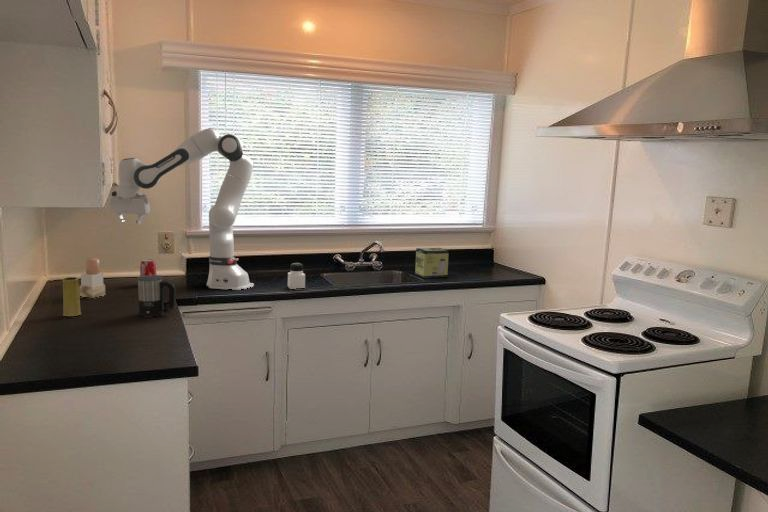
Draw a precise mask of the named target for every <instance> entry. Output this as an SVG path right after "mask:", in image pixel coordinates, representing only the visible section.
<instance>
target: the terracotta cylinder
mask: <svg viewBox="0 0 768 512" xmlns="http://www.w3.org/2000/svg"><path fill="white" fill-rule="evenodd" d="M85 265H86V266H85V273H87V274H92V275H94V274H99V273H100V258H98V257H87V258H86V263H85Z"/></svg>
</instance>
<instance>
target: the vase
mask: <svg viewBox="0 0 768 512" xmlns="http://www.w3.org/2000/svg"><path fill="white" fill-rule="evenodd" d="M79 280H80V279H79V277H76V276H75V277H74V276H70V277H63V278H62V297H63V298H62V299H63V300H62V301H63V303H62V306H63V309H62V310H63V311H62V312H63V313H62V317H63V316H78V315H82V312H81V300H80V299H81V297H80V291H79V286H80V283H79V282H80V281H79Z"/></svg>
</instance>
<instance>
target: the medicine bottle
mask: <svg viewBox="0 0 768 512" xmlns="http://www.w3.org/2000/svg"><path fill="white" fill-rule="evenodd" d="M289 266H290V268H289V269H290V270H289V271H290V272H287V287H288V289H290V290H291V289H295V290H297V289H296V288H305V289H306V273H304V264H303V263H300V262H294V263H291V264H290V265H289Z"/></svg>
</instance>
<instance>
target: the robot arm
mask: <svg viewBox="0 0 768 512" xmlns="http://www.w3.org/2000/svg"><path fill="white" fill-rule="evenodd" d="M243 145H244V144H243V142H242V141H241V139H240V138H239V137H238V136H237V135H236V134H231V133H229V134H228V133H227V134H225V135H220V134H219V133H218V131H217V130H215V129H213V128H211V127H210V128H208V127H207V128H205V129H202V130H199V131H198V132H196V133H194V134H192V135H191V136H188V138H186V139H185V140H184V141H182V142H181V143H180V144H179V145H177V147H176V148H175V149H174V150H173V151H172V152H171V153H170V154H168V155H166V156H164V157H163V158H162V159H160V160H158V161H156V162H154V163H153V164H147V163H144V162H143V161H141V160H139V159H138V158H137V157H129V158H128V157H127V158H123V159H122V160H120V162H119V163H118V179H119V183H118V184H119V185H118V189H116V190H112V191H111V192H109V195H110V200H109V210H110V212H112V213H117V214H116V215H117V217H118V219H119V223H123V224H124V223H125V222H126V220H125V219H126V218H124V217H123V215H124V214H129V215H131V214H133V215H137V217H138V218H137V219H135V224H136V225H142V220H143V218H144V216H145V215H150V213H151V207H150V202H149V201H150V200H149V196H147V195H146V194H144V193H143V194H141V189H146V190H148V189H151V188H153V187H155V186H157V185H158V184H159V183H161V180H162V177H163V176H165V175H166V174H168V173H170V172H171V171H173V170H174V169H176V168H178V167H180V166H183V165H188V164H192V163H195V162H198V161H200V160H201V159H204V158H205V157H207V156H208V155H209V154H212V153H214V152H218V153H219V154H220V155H221V156H222V157H224V158H225V159H227V160H229V166H228V169H227V171H226V174H225V176H224V178H223V180H222V183H221V185H220V189H219V192H218V193H217V194H218V195H217V198H216V200H215V203H214V205H212V206H211V208H210V209H209V210H208V228H209V230H208V231H209V256H208V263H209V271H208V272H209V273H208V278H207V282H206V286H207V287H208V289H213V290H214V289H215V290H216V289H217V290H218V289H219V290H228V289H232V291H242V290H241V289H244V290H248V289H250V287H251V288H254V286H255V284H254V283H253V282H250V278H249V274H248V272H247V271H246V270H244V269H243V268H242V267H241V266H240V265H239V264H238V262H237V261H239V258H238V257H237V258H236V257H235V255H234V253H235V252H234V251H235V247H234V245H235V243H234V241H235V240H234V228H233V227H234V226H233V225H234V224H235V221H236V218H237V216H238V212H239V210H240V207H241V203H242V200H243V197H244V195H245V193H246V190H247V188H248V185H249V183H250V180H251V177H252V174H253V170H254V163H253V160H252V159H250V157H248V156H246V155H244V146H243ZM247 288H248V289H247Z"/></svg>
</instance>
